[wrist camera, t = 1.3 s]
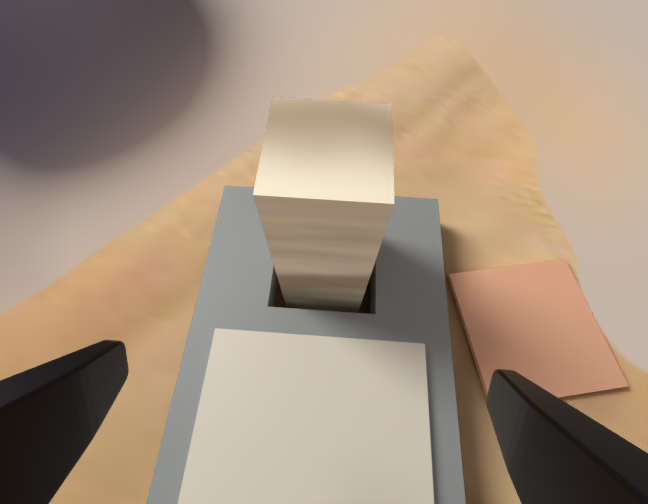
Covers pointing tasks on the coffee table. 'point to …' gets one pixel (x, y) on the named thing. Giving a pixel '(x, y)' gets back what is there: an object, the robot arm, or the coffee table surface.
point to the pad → (535, 328)
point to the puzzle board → (315, 379)
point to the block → (325, 197)
